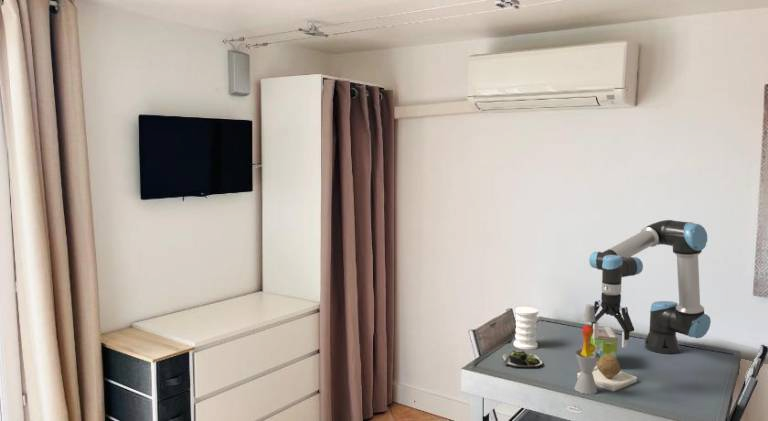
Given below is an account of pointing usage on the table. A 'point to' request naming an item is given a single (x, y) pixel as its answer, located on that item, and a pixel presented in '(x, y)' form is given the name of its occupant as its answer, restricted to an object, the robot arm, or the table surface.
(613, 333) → the tea box
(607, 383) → the tray
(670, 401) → the table surface
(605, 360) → the natural sponge
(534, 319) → the decorative container
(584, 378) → the lava lamp
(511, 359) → the salad plate
